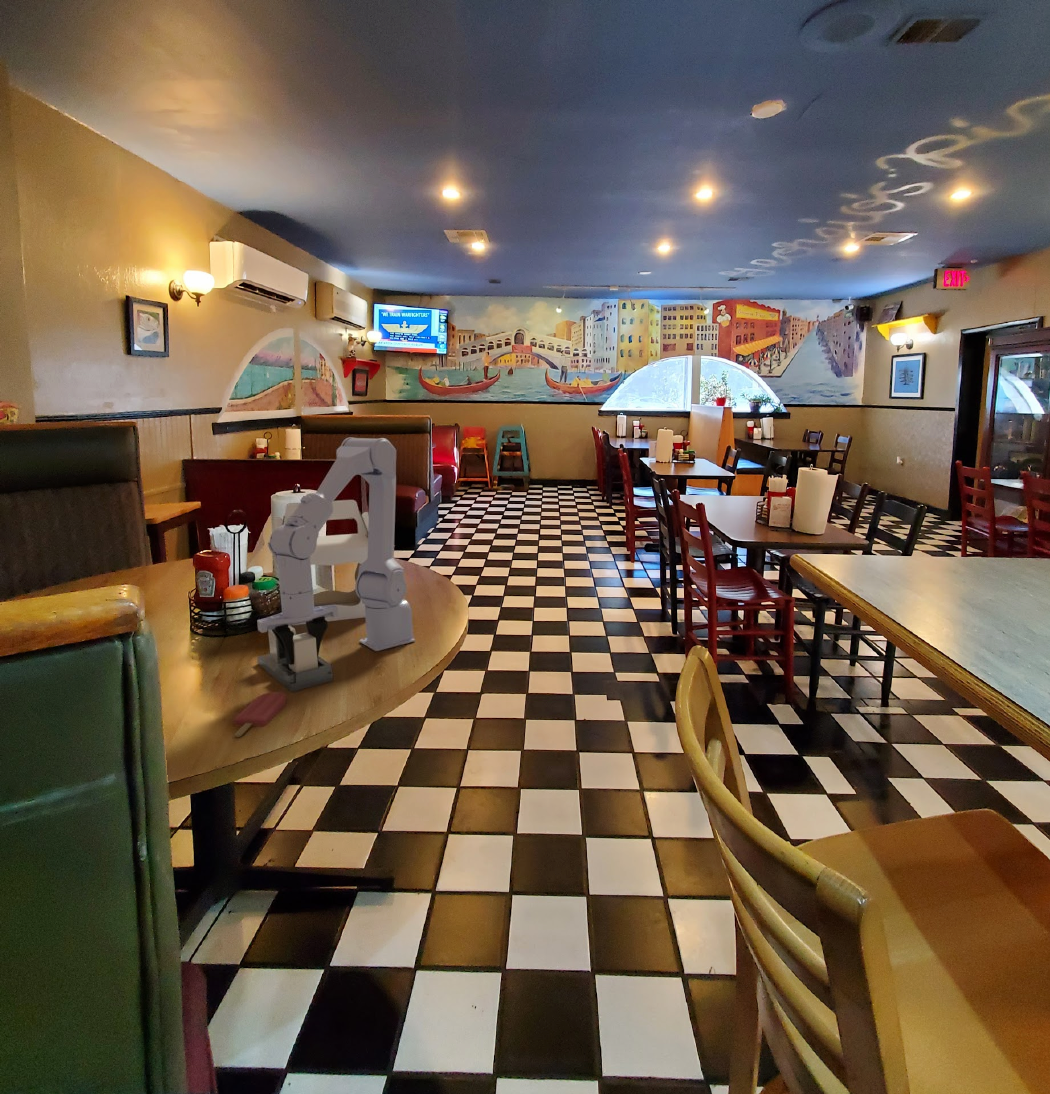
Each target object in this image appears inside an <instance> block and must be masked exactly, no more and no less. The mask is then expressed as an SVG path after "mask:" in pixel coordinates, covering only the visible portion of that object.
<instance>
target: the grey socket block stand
mask: <svg viewBox="0 0 1050 1094" xmlns="http://www.w3.org/2000/svg"><path fill="white" fill-rule="evenodd" d="M288 627H289V628H290V631H292V632H293V633H294V635H297V633H296V631H297V630H296V628H294V627H293V626H288ZM267 632H268V633H267V635H268V642H269V643H268V644H269V653H268V654H263V655H259V656H256V657H257V658H256V659H257V665H259V666H260V667H261V668H262V669H263V670H264V671H265V672H267V673H268V674H269V675H271V676H272V678H273V679H275V680H276V681H277V682H279V683H280V685H282V686H283V687H284V688H286V689H287V690H288V691H289V692H290V693H293V692H297V691H300V690H305V689H308V688H311V687H315V686H319V685H323V684H326V683H329V682H333V681H334V674H333V672H332V664H331V663H329V662H328V661H326V660H325V659H324V658H322V657H320V656H319V655H318V658H317V661H318V667H317V668H313V669H309V670H306V671H302V672H298V673H296V672H294V671H293V670H292V669H290V668H289V663H287V661H286V657H285V654H284V651H283V649H282V647H281V645H280V643H279V641H278V639H277V638H276V636H275V635H274V633H273V632H272V630H267ZM294 635H293V636H294Z"/></svg>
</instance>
